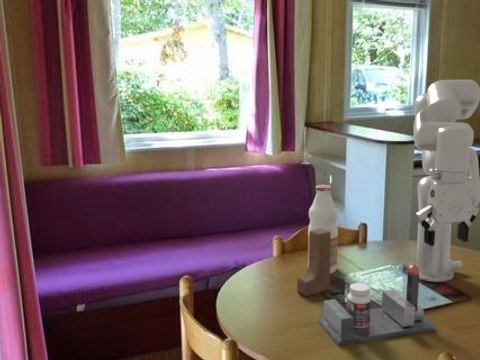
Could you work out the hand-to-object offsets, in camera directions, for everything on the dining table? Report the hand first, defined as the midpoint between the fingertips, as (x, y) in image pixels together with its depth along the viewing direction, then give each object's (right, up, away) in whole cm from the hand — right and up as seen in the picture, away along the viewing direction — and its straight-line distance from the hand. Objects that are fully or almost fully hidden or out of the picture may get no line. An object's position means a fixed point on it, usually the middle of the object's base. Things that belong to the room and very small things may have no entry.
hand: (445, 242), depth 124 cm
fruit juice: (-25, -14, +36) cm, 46 cm away
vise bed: (-18, -21, 0) cm, 28 cm away
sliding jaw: (-10, -19, +1) cm, 22 cm away
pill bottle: (-23, -20, -2) cm, 31 cm away
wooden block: (-31, -17, +20) cm, 41 cm away
